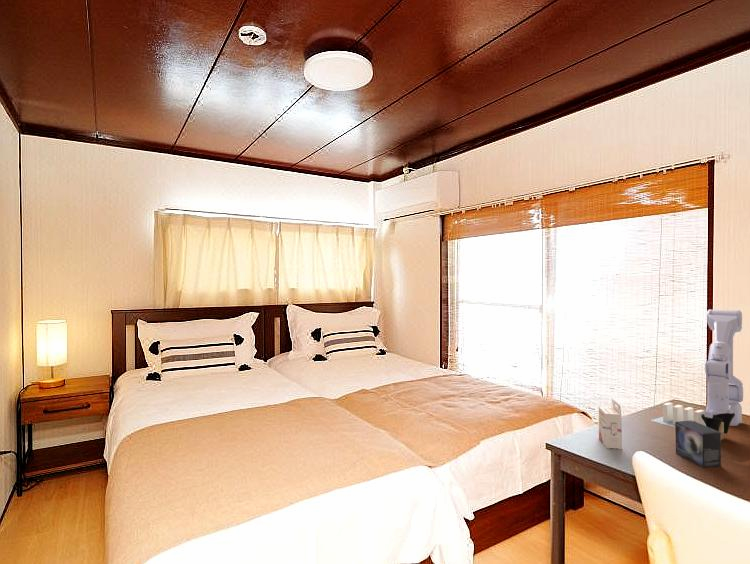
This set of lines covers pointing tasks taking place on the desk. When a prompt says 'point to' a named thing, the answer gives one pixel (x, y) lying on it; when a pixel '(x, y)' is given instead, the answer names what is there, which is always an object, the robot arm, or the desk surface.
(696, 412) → the tile
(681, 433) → the small box
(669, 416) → the tile
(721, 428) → the tile
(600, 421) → the ink cartridge box
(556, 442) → the desk surface
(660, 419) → the domino board
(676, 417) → the tile
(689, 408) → the tile
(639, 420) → the desk surface
